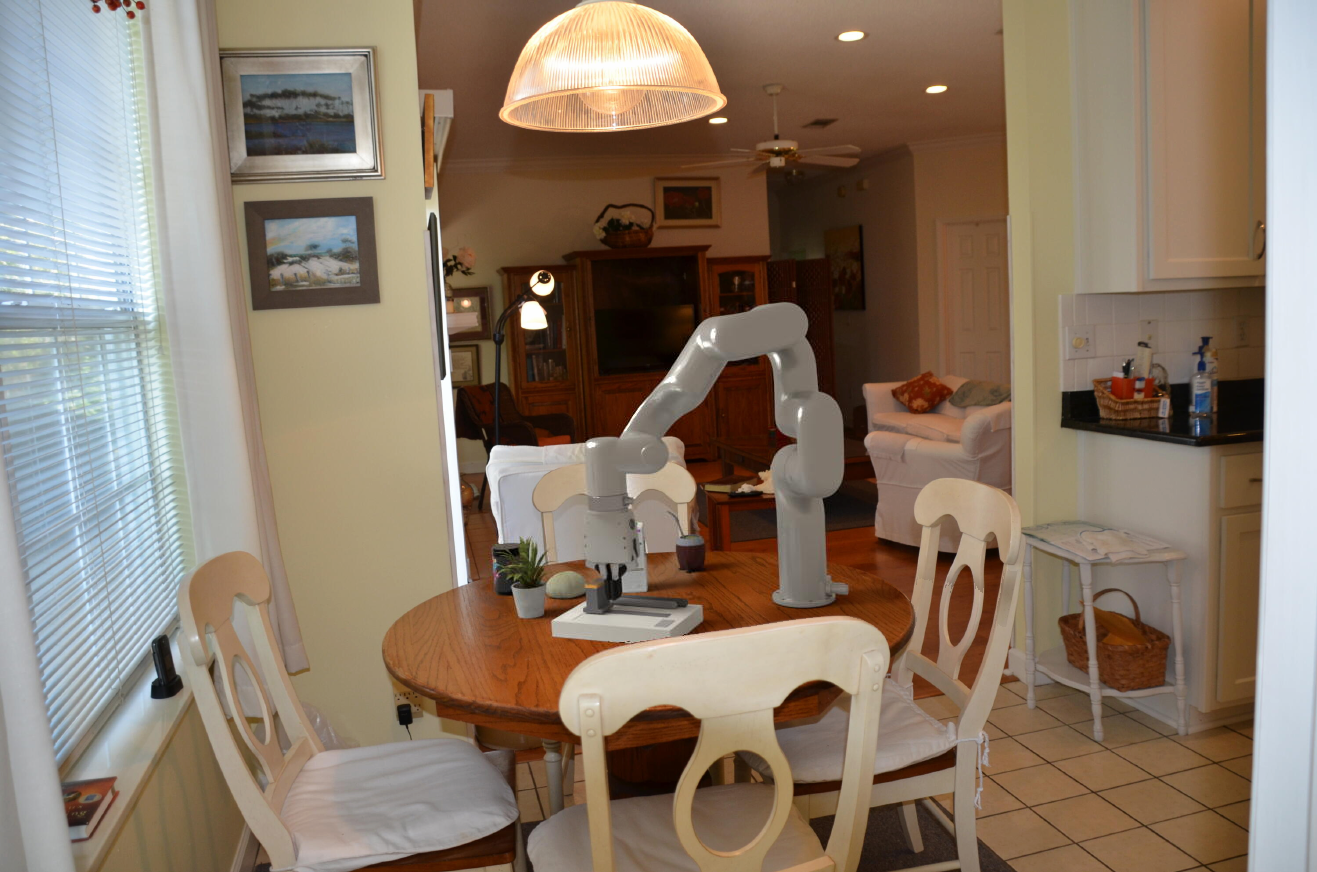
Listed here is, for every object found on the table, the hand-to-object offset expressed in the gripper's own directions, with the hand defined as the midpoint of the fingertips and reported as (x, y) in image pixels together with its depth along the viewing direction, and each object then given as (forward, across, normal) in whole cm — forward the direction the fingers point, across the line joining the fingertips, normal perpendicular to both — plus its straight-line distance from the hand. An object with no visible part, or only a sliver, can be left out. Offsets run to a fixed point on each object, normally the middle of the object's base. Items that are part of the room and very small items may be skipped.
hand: (614, 598), depth 176 cm
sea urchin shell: (+6, +21, -19) cm, 29 cm away
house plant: (+6, +22, -4) cm, 23 cm away
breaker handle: (+2, +3, 0) cm, 4 cm away
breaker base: (+6, -3, 0) cm, 6 cm away
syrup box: (+6, +8, -26) cm, 28 cm away
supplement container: (+6, +35, -18) cm, 40 cm away
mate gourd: (+6, +2, -44) cm, 45 cm away
